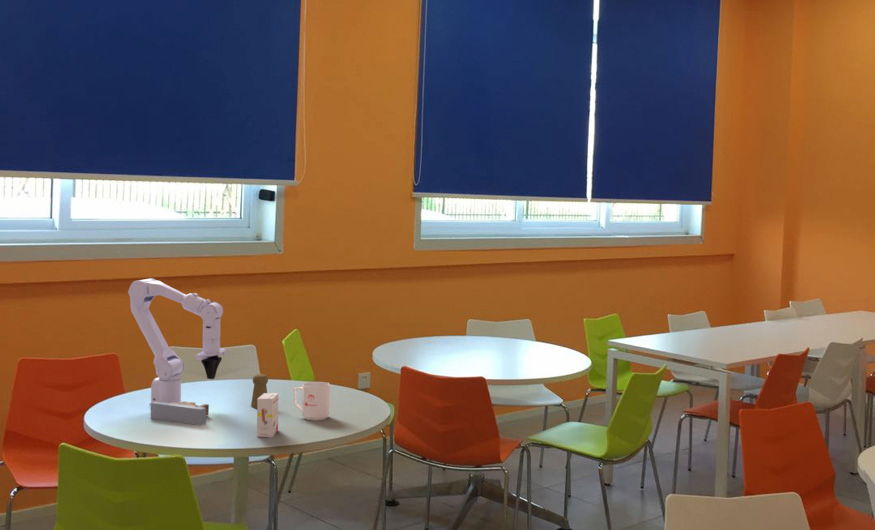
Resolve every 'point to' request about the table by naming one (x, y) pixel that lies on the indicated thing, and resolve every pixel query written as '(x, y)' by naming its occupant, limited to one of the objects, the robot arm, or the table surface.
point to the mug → (314, 400)
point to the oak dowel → (190, 403)
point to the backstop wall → (178, 413)
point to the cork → (258, 388)
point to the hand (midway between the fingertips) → (210, 378)
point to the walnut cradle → (196, 406)
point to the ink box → (267, 415)
